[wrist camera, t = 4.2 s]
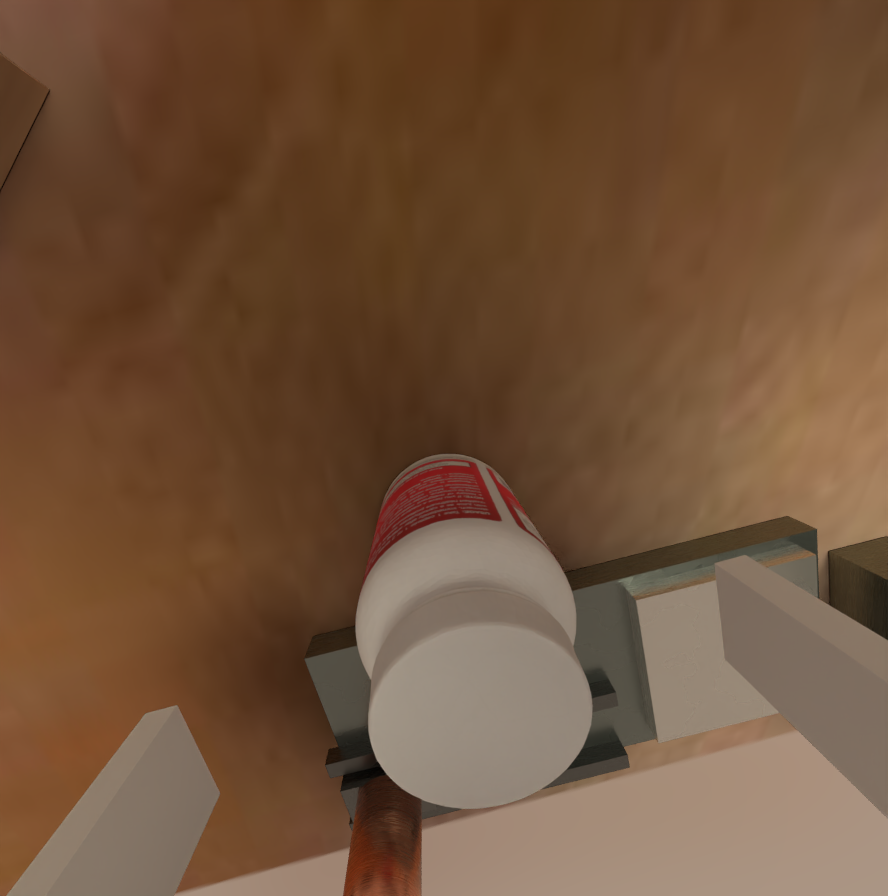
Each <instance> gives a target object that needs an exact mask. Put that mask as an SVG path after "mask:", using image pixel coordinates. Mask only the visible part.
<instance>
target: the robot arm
mask: <svg viewBox="0 0 888 896" xmlns="http://www.w3.org/2000/svg"><path fill="white" fill-rule="evenodd" d="M714 564H715V573H716V583H717V592H718V601H719V610H720V620H721V629H722V638H723V647H724V657H725V660H726V661H727V662H728V663H729V664H730V665H731V666H732V667H733V668H734V669H736V670H737V671H738V672H739V673H740V674H741V675H742V676H743V677H744V678H745V679H746V680H747V681H748V682H749V683H750V684H751V685H752V686H753V687H754V688H755V689H756V690H757V691H758V692H759V693H760V694H761V695H762V696H763V697H764V698H765V699H766V700H767V701H768V702H769V703H770V704H771V705H772V706H773V707H774V708H775V709H776V710H777V711H778V712H779V713H780V714H781V715H783V716H784V717H785V718H786V719H787V720H788V721H789V722H790V723H791V724H792V725H793V726H794V727H795V728H796V729H797V730H798V731H799V732H800V733H801V734H802V735H803V736H804V737H805V738H806V739H807V740H808V741H809V742H810V743H811V744H812V745H813V746H814V747H815V748H816V749H817V750H818V751H819V752H820V753H821V754H822V755H823V756H824V757H825V758H826V759H827V760H828V761H830V762H831V763H832V764H833V765H834V766H835V767H836V768H837V769H838V770H839V771H840V772H841V773H842V774H843V775H844V776H845V777H846V778H847V779H848V780H849V781H850V782H851V783H852V784H853V785H854V786H855V787H856V788H857V789H858V790H859V791H860V792H861V793H862V794H863V795H864V796H865V797H866V798H867V799H868V800H869V801H870V802H871V803H872V804H874V806H875V807H877V808H878V809H879V810H880V811H881V812H882V813H883V814H884V815H885V816H886V817H887V818H888V640H886V639H885V638H883V637H881V636H880V635H878V634H876V633H875V632H873V631H871V630H870V629H868V628H866V627H865V626H863V625H861V624H860V623H858V622H856V621H855V620H853V619H851V618H850V617H848V616H846V615H845V614H843V613H841V612H840V611H838V610H836V609H835V608H833V607H831V606H830V605H828V604H826V603H825V602H823V601H821V600H820V599H818V598H816V597H815V596H813V595H811V594H810V593H808V592H806V591H805V590H803V589H801V588H800V587H798V586H796V585H795V584H793V583H791V582H790V581H788V580H786V579H785V578H783V577H781V576H780V575H778V574H776V573H775V572H773V571H771V570H770V569H768V568H766V567H765V566H763V565H761V564H760V563H758V562H756V561H755V560H753V559H751V558H750V557H748V556H746V555H743V556H739V557H735V558H731V559H728V560H724V561H720V562H716V563H714ZM219 795H220V792H219V790H218V788H217V786H216V784H215V782H214V780H213V777H212V775H211V773H210V771H209V769H208V767H207V765H206V763H205V761H204V759H203V757H202V755H201V753H200V751H199V749H198V747H197V745H196V743H195V741H194V738H193V736H192V734H191V732H190V730H189V728H188V726H187V724H186V722H185V720H184V718H183V716H182V714H181V712H180V710H179V708H178V706H177V705H176V706H172V707H168V708H164V709H160V710H157V711H153V712H149V713H145V715H144V716H143V717H142V719H141V720H140V721H139V723H138V724H137V725H136V727H135V728H134V729H133V730H132V732H131V733H130V734H129V736H128V737H127V738H126V740H125V741H124V742H123V744H122V745H121V746H120V748H119V749H118V750H117V751H116V753H115V754H114V755H113V757H112V758H111V759H110V761H109V762H108V763H107V765H106V766H105V767H104V768H103V770H102V771H101V772H100V774H99V775H98V776H97V778H96V779H95V780H94V782H93V783H92V784H91V786H90V787H89V788H88V789H87V791H86V792H85V793H84V795H83V796H82V797H81V799H80V800H79V801H78V803H77V804H76V805H75V807H74V808H73V809H72V810H71V812H70V813H69V814H68V816H67V817H66V818H65V820H64V821H63V822H62V824H61V825H60V826H59V827H58V829H57V830H56V831H55V833H54V834H53V835H52V837H51V838H50V839H49V841H48V842H47V843H46V845H45V846H44V847H43V848H42V850H41V851H40V852H39V854H38V855H37V856H36V858H35V859H34V860H33V862H32V863H31V864H30V865H29V867H28V868H27V869H26V871H25V872H24V873H23V875H22V876H21V877H20V879H19V880H18V881H17V883H16V884H15V885H14V886H13V888H12V889H11V890H10V892H9V893H8V894H7V896H174V895H175V893H176V890H177V888H178V886H179V884H180V881H181V879H182V877H183V875H184V873H185V870H186V868H187V866H188V864H189V862H190V859H191V857H192V855H193V853H194V850H195V848H196V846H197V844H198V842H199V839H200V837H201V835H202V833H203V831H204V828H205V826H206V824H207V822H208V819H209V817H210V815H211V813H212V811H213V808H214V806H215V804H216V802H217V800H218V797H219Z"/></svg>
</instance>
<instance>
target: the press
mask: <svg viewBox="0 0 888 896" xmlns="http://www.w3.org/2000/svg"><path fill="white" fill-rule="evenodd" d="M743 555H746V556H748V557H750V558H751V559H753V560H755V561H756V562H758V563H760V564H761V565H763V566H765V567H766V568H768V569H770V570H771V571H773V572H775V573H776V574H778V575H780V576H781V577H783V578H785V579H786V580H788V581H790V582H791V583H793V584H795V585H796V586H798V587H800V588H801V589H803V590H805V591H806V592H808V593H810V594H811V595H813V596H815V597H816V598H818V599H819V581H818V551H817V529H815V528H813V527H811V526H809V525H807V524H804V523H802V522H800V521H798V520H795V519H793V518H791V517H789V516H787V517H783V518H779V519H775V520H771V521H767V522H763V523H759V524H755V525H751V526H747V527H743V528H739V529H735V530H731V531H727V532H724V533H720V534H716V535H712V536H708V537H704V538H700V539H696V540H692V541H688V542H684V543H680V544H676V545H672V546H668V547H664V548H661V549H657V550H653V551H649V552H645V553H641V554H637V555H633V556H629V557H625V558H621V559H617V560H613V561H609V562H605V563H601V564H597V565H594V566H590V567H586V568H582V569H578V570H574V571H570V572H566V573H564V574H565V576H566V577H567V580H568V582H569V584H570V587H571V590H572V593H573V597H574V602H575V607H576V636H575V641H574V645H573V648H574V651H575V654H576V656H577V658H578V660H579V663H580V665H581V667H582V669H583V671H584V673H585V676H586V678H587V681H588V684H589V687H590V691H591V696H592V705H593V707H592V720H591V726H590V729H589V732H588V735H587V738H586V741H585V743H584V745H583V747H582V749H581V751H580V752H579V754H578V755H577V757H576V758H575V760H574V761H573V762H572V763H571V764H570V766H569V767H568V768H567V769H566V770H565V771H564V772H563V773H562V774H561V775H560V776H559V777H557V778H556V779H555V780H554V781H552V782H551V783H550V784H549V785H547V786H545V787H544V788H542V789H545V788H549V787H553V786H557V785H561V784H565V783H569V782H573V781H577V780H581V779H585V778H589V777H593V776H597V775H601V774H605V773H609V772H613V771H617V770H621V769H625V768H629V767H630V766H629V761H628V755H627V753H626V751H625V749H624V746H628V745H632V744H636V743H640V742H644V741H648V740H652V739H656V740H657V742H658V743H661V742H665V741H669V740H673V739H677V738H681V737H685V736H689V735H693V734H697V733H701V732H705V731H709V730H713V729H717V728H721V727H725V726H729V725H733V724H737V723H741V722H745V721H749V720H753V719H757V718H761V717H765V716H769V715H773V714H777V713H779V712H778V711H777V710H776V709H775V708H774V707H773V706H772V705H771V704H770V703H769V702H768V701H767V700H766V699H765V698H764V697H763V696H762V695H761V694H760V693H759V692H758V691H757V690H756V689H755V688H754V687H753V686H752V685H751V684H750V683H749V682H748V681H747V680H746V679H745V678H744V677H743V676H742V675H741V674H740V673H739V672H738V671H737V670H736V669H734V668H733V667H732V666H731V665H730V664H729V663H728V662H727V661H726V660H725V657H724V647H723V638H722V629H721V620H720V610H719V601H718V592H717V583H716V573H715V564H714V563H716V562H720V561H724V560H728V559H731V558H735V557H739V556H743ZM829 568H830V606H831V607H833V608H835V609H836V610H838V611H840V612H841V613H843V614H845V615H846V616H848V617H850V618H851V619H853V620H855V621H856V622H858V623H860V624H861V625H863V626H865V627H866V628H868V629H870V630H871V631H873V632H875V633H876V634H878V635H880V636H881V637H883V638H885V639H886V640H888V537H883V538H879V539H875V540H871V541H868V542H864V543H860V544H856V545H852V546H848V547H844V548H840V549H836V550H832V551H829ZM355 628H356V626H353V627H349V628H345V629H341V630H337V631H334V632H330V633H326V634H322V635H318V636H314V637H313V638H312V640H311V643H310V645H309V648H308V651H307V653H306V656H305V658H304V660H305V662H306V665H307V667H308V670H309V672H310V675H311V677H312V680H313V682H314V685H315V688H316V690H317V693H318V695H319V698H320V700H321V703H322V705H323V708H324V710H325V713H326V716H327V718H328V721H329V723H330V726H331V728H332V731H333V733H334V736H335V738H336V741H337V743H338V746H339V747H336V748H332V749H329V751H328V755H327V759H326V764H325V767H326V769H327V771H328V774H329V776H330V778H334V777H338V776H342V775H346V774H350V773H354V772H357V771H361V770H365V769H369V768H373V767H377V766H381V765H380V764H379V762H378V761H377V759H376V757H375V754H374V751H373V749H372V746H371V742H370V737H369V731H368V712H369V702H370V693H371V679H370V677H369V675H368V674H367V672H366V670H365V667H364V665H363V663H362V660H361V657H360V654H359V651H358V646H357V640H356V632H355ZM540 790H541V789H540ZM457 810H461V809H460V808H452V807H445V806H441V805H437V809H434V810H430V811H426V812H422V819H425V818H429V817H433V816H437V815H441V814H445V813H449V812H453V811H457ZM349 825H350V828H351V830H352V831H353V821H352V819H351V816H350V823H349Z"/></svg>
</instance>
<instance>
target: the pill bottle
mask: <svg viewBox="0 0 888 896" xmlns="http://www.w3.org/2000/svg"><path fill="white" fill-rule="evenodd" d="M355 632H356V640H357V646H358V651H359V654H360V657H361V660H362V663H363V665H364V667H365V670H366V672H367V674H368V675H369V677H370V679H371V693H370V702H369V712H368V731H369V737H370V742H371V746H372V749H373V751H374V754H375V757H376V759H377V761H378V762H379V764H380V765H381V767H382V769H383V770H384V771H385V773H386V774H387V775H388V776H389V777H390V778H391V779H392V780H393V781H394V782H395V783H396V784H397V785H398V786H400V787H401V788H402V789H403V790H405V791H406V792H408V793H410V794H411V795H414V796H416V797H418V798H420V799H422V800H424V801H426V802H430V803H433V804H437V805H441V806H445V807H452V808H460V809H478V808H488V807H494V806H499V805H504V804H508V803H511V802H514V801H517V800H520V799H523V798H525V797H527V796H529V795H532V794H533V793H535V792H537V791H539V790H540V789H542V788H544V787H545V786H547V785H549V784H550V783H551V782H552V781H554V780H555V779H556V778H557V777H559V776H560V775H561V774H562V773H563V772H564V771H565V770H566V769H567V768H568V767H569V766H570V764H571V763H572V762H573V761H574V760H575V758H576V757H577V755H578V754H579V752H580V751H581V749H582V747H583V745H584V743H585V741H586V738H587V735H588V732H589V729H590V726H591V720H592V707H593V705H592V696H591V691H590V687H589V684H588V681H587V678H586V676H585V673H584V671H583V669H582V667H581V665H580V663H579V660H578V658H577V656H576V654H575V651H574V648H573V645H574V641H575V636H576V607H575V602H574V597H573V593H572V590H571V587H570V584H569V582H568V580H567V577H566V576H565V574H564V572H563V569H562V567H561V566H560V564H559V563H558V561H557V559H556V558H555V557H554V555H553V554H552V552H551V551H550V549H549V548H548V546H547V545H546V543H545V542H544V540H543V539H542V537H541V536H540V534H539V533H538V531H537V529H536V528H535V527H534V525H533V523H532V522H531V521H530V519H529V517H528V516H527V514H526V513H525V511H524V510H523V508H522V507H521V505H520V503H519V502H518V500H517V499H516V497H515V495H514V494H513V492H512V491H511V489H510V488H509V486H508V485H507V484H506V482H505V481H504V479H503V478H502V477H501V476H500V475H499V474H498V473H497V472H496V471H495V470H494V469H492V468H491V467H490V466H488V465H487V464H485V463H483V462H481V461H480V460H477V459H475V458H472V457H469V456H465V455H459V454H438V455H433V456H429V457H426V458H424V459H421V460H419V461H417V462H415V463H414V464H412V465H410V466H409V467H407V468H406V469H405V470H404V471H402V472H401V473H400V474H399V475H398V476H397V477H396V479H395V480H394V481H393V483H392V484H391V486H390V487H389V489H388V491H387V493H386V495H385V497H384V500H383V503H382V506H381V510H380V514H379V518H378V522H377V526H376V530H375V534H374V539H373V543H372V547H371V551H370V555H369V559H368V563H367V567H366V571H365V575H364V579H363V583H362V587H361V591H360V596H359V600H358V606H357V612H356V628H355Z"/></svg>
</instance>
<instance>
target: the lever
mask: <svg viewBox="0 0 888 896" xmlns="http://www.w3.org/2000/svg"><path fill="white" fill-rule="evenodd" d="M340 792H341V794H342V797H343V799H344V802H345V804H346V807H347V809H348V811H349V814H350V816H351V819H352V821H353V831H352V838H351V845H350V853H349V859H348V865H347V872H346V879H345V886H344V893H343V896H421V841H422V839H421V838H422V837H421V836H422V833H421V832H422V812H426V811H430V810H434V809H437V804H433V803H430V802H426V801H424V800H422V799H420V798H418V797H416V796H414V795H411V794H410V793H408V792H406V791H405V790H403V789H402V788H401V787H400V786H398V785H397V784H396V783H395V782H394V781H393V780H392V779H391V778H390V777H389V776H388V775H387V774H386V773H385V771H384V770H383V769H382V767H381V766H377V767H373V768H369V769H365V770H361V771H357V772H354V773H350V774H346V775H343V780H342V786H341V791H340Z"/></svg>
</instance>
